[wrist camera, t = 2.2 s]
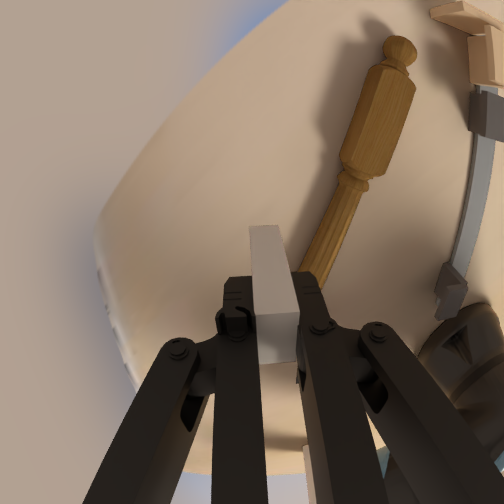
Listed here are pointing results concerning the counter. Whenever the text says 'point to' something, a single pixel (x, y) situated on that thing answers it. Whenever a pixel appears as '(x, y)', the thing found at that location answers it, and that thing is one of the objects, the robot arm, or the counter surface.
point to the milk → (309, 475)
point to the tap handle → (365, 149)
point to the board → (486, 133)
